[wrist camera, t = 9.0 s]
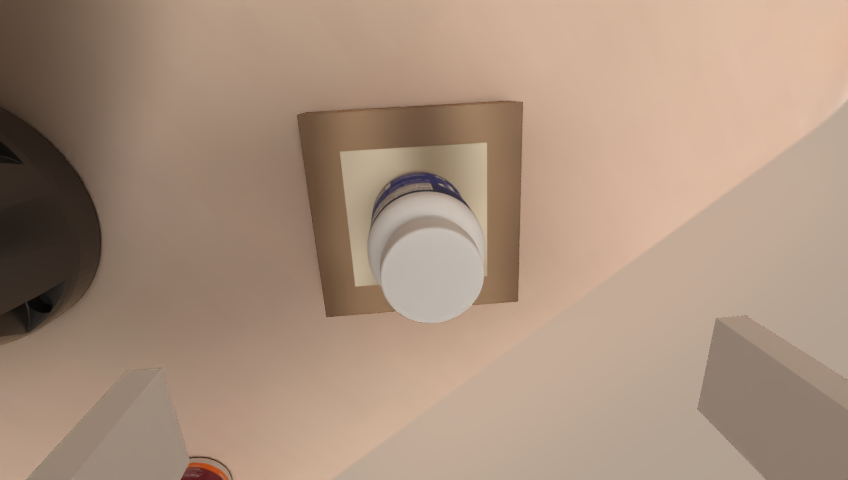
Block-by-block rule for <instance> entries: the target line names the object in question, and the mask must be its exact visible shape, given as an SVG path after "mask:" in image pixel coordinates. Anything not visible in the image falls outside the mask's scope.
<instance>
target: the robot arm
mask: <svg viewBox="0 0 848 480" xmlns="http://www.w3.org/2000/svg"><path fill="white" fill-rule="evenodd" d="M99 254H100V234H99V227H98V222H97V217H96V214H95V210H94V208H93V205H92V202H91V200H90V198H89V195H88V193H87V191H86V189H85V187H84V185H83V184H82V182H81V180H80V179H79V177H78V176H77V174H76V173H75V171H74V170H73V168H72V167H71V166H70V164H69V163H68V162H67V161H66V159H65V158H64V157H63V156H62V155H61V154H60V153H59V151H58V150H57V149H56V148H55V147H54V146H53V145H52V144H51V143H50V142H49V141H48V140H46V139H45V138H44V137H43V136H42V135H41V134H40V133H38V132H37V131H36V130H35V129H33V128H32V127H31V126H29V125H28V124H26V123H25V122H24V121H22V120H21V119H19V118H18V117H16V116H14V115H13V114H11V113H9V112H8V111H6V110H4V109H2V108H0V345H2V344H5V343H9V342H12V341H15V340H17V339H20V338H22V337H24V336H27V335H29V334H31V333H33V332H35V331H37V330H38V329H40V328H42V327H43V326H45V325H46V324H48V323H49V322H51V321H52V320H54V319H55V318H57V317H58V316H59V315H61V314H62V313H64V312H65V311H67V310H68V309H69V308H71V307H72V306H73V305H74V304H75V303H76V302H77V301H78V300H79V299H80V298H81V297H82V296H83V294H84V293H85V292H86V290H87V289H88V287H89V285H90V284H91V282H92V280H93V277H94V275H95V272H96V269H97V265H98V261H99ZM698 410H699V411H700V412H701V413H702V414H703V415H704V416H705V417H706V418H707V419H708V420H709V422H710V423H711V424H713V426H714V427H715V428H716V429H717V430H718V431H719V432H720V433H721V434H722V435H723V436H724V437H725V438H726V439H727V440H728V441H729V442H730V443H731V444H732V445H733V446H734V447H735V448H736V449H737V450H738V451H739V452H740V453H741V455H742V456H743V457H744V458H745V459H746V460H747V461H748V462H749V463H750V464H751V465H752V466H753V467H754V468H755V469H756V470H757V471H758V472H759V473H760V474H761V475H762V476H763V477H764V478H765V479H766V480H848V379H846V378H844V377H843V376H841V375H840V374H838V373H836V372H835V371H833V370H832V369H830V368H828V367H827V366H825V365H824V364H822V363H820V362H819V361H817V360H816V359H814V358H813V357H811V356H809V355H808V354H806V353H804V352H803V351H801V350H800V349H798V348H797V347H795V346H794V345H792V344H791V343H789V342H787V341H786V340H784V339H783V338H781V337H779V336H778V335H776V334H775V333H773V332H772V331H770V330H768V329H767V328H765V327H764V326H762V325H760V324H759V323H757V322H756V321H754V320H752V319H751V318H749V317H748V316H746V315H745V316H734V317H722V318H716V321H715V326H714V331H713V336H712V340H711V346H710V350H709V355H708V360H707V366H706V370H705V375H704V379H703V385H702V389H701V394H700V399H699V404H698ZM189 463H190V459H189V455H188V452H187V449H186V446H185V442H184V439H183V436H182V433H181V429H180V426H179V423H178V420H177V416H176V413H175V410H174V407H173V404H172V400H171V397H170V394H169V391H168V387H167V384H166V381H165V378H164V374H163V371H162V368H155V369H144V370H133V371H126V372H125V373H124V374H123V375H122V376H121V378H120V379H119V380H118V381H117V382H116V383H115V384H114V385H113V386H112V387H111V388H110V389H109V390H108V392H107V393H106V394H105V395H104V396H103V397H102V398H101V399H100V400H99V401H98V402H97V403H96V405H95V406H94V407H93V408H92V409H91V410H90V411H89V412H88V413H87V414H86V415H85V416H84V418H83V419H82V420H81V421H80V422H79V423H78V424H77V425H76V426H75V427H74V428H73V429H72V431H71V432H70V433H69V434H68V435H67V436H66V437H65V438H64V439H63V440H62V441H61V442H60V443H59V445H58V446H57V447H56V448H55V449H54V450H53V451H52V452H51V453H50V454H49V455H48V456H47V458H46V459H45V460H44V461H43V462H42V463H41V464H40V465H39V466H38V467H37V468H36V469H35V471H34V472H33V473H32V474H31V475H30V476H29V477H28V478H27V479H26V480H181V478H182V476H183V474H184V472H185V470H186V468H187V467H188V465H189Z"/></svg>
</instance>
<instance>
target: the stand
mask: <svg viewBox="0 0 848 480" xmlns="http://www.w3.org/2000/svg"><path fill="white" fill-rule="evenodd" d="M522 117H523V102H516V101H497V102H479V103H461V104H444V105H426V106H408V107H391V108H373V109H355V110H337V111H320V112H306V113H303V114H299V115H297V118H298V124H299V131H300V138H301V145H302V152H303V159H304V166H305V173H306V180H307V187H308V193H309V200H310V207H311V214H312V221H313V228H314V235H315V242H316V249H317V256H318V263H319V269H320V276H321V283H322V290H323V297H324V304H325V311H326V317H334V316H346V315H358V314H371V313H383V312H395V311H396V310H395V309H394V308H393V307H392V306H391V305H390V304H389V302H388V301H387V299H386V298H385V296H384V293H383V291H382V287H381V286H380V285H379V284H378V282H377V281H376V279H375V278H374V276H373V273H372V271H371V268H370V265H369V260H368V253H367V246H368V236H369V231H370V225H371V218H372V211H373V206H374V203H375V200H376V198H377V196H378V194H379V192H380V191H381V189H382V188H383V187H384V186H385V185H386V184H387V183H388V182H389V181H390V180H392V179H393V178H395V177H396V176H398V175H400V174H403V173H406V172H411V171H428V172H432V173H435V174H438V175H440V176H442V177H444V178H445V179H447V180H448V181H449V182H451V183H452V184H453V185H454V186H455V188H456V189H457V190H458V192H459V193H460V195H461V196H462V198H463V199H464V200H465V202H466V203H467V205H468V206H469V207H470V209H471V210H472V212H473V213H474V214H475V216H476V217H477V219H478V221H479V223H480V225H481V227H482V230H483V233H484V238H485V259H484V264H483V265H484V282H483V286H482V289H481V291H480V293H479V295H478V297H477V299H476V300H475V301H474V303H473V304H472V305H480V304H492V303H504V302H516V301H518V277H519V237H520V197H521V157H522Z"/></svg>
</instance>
